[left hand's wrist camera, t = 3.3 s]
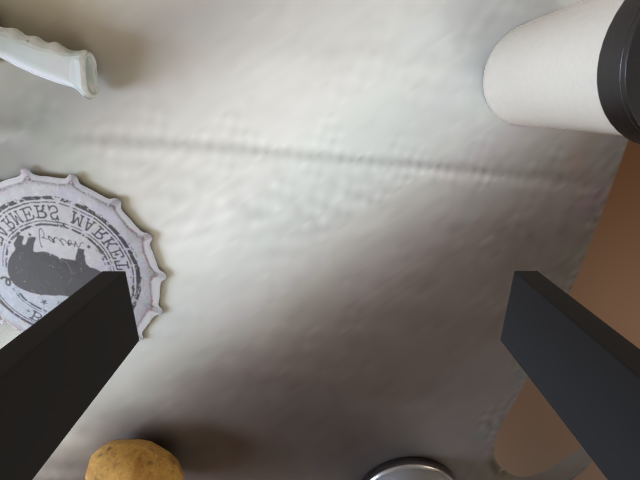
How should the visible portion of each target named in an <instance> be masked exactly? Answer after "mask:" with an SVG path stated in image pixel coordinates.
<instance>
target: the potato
mask: <svg viewBox="0 0 640 480" xmlns="http://www.w3.org/2000/svg"><path fill="white" fill-rule="evenodd" d="M85 478H86V480H184V473H183V470H182V468H181V466H180V464H179V461H178V459H176V458H175V457H174V456H173V455H172V454H171V453H170V452H169V451H167V450H165V449H164V448H162V447H160V446H159V445H157V444H155V443H153V442H152V441H147V440H142V439H130V440H127V439H118V440H114V441H111V442H108V443H106V444H105V445H103V446H102V447H101V448H100V449H99V450H97V451H96V452H95V453H94V454H93V455H92V456H91V459H90V461H89V465H88V468H87V472H86V476H85Z"/></svg>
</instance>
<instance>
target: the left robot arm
mask: <svg viewBox="0 0 640 480" xmlns="http://www.w3.org/2000/svg"><path fill="white" fill-rule="evenodd" d="M138 341H139V335H138V330H137V325H136V320H135V316H134V311H133V306H132V301H131V296H130V291H129V286H128V281H127V276H126V271H102V272H101V273H100V274H98V275H97V276H96V277H94V278H93V279H92V280H90V281H89V282H88V283H86V284H85V285H84V286H83V287H81V288H80V289H79V290H77V291H76V292H75V293H73V294H72V295H71V296H69V297H68V298H67V299H66V300H64V301H63V302H62V303H60V304H59V305H58V306H56V307H55V308H54V309H52V310H51V311H50V312H49V313H47V314H46V315H45V316H43V317H42V318H41V319H39V320H38V321H37V322H35V323H34V324H33V325H32V326H30V327H29V328H28V329H26V330H25V331H24V332H22V333H21V334H20V335H18V336H17V337H16V338H15V339H13V340H12V341H11V342H9V343H8V344H7V345H5V346H4V347H3V348H1V349H0V480H32V479H33V478H34V477H35V475H36V474H37V473H38V471H39V470H40V469H41V468H42V466H43V465H44V464H45V462H46V461H47V460H48V458H49V457H50V456H51V455H52V453H53V452H54V451H55V449H56V448H57V447H58V445H59V444H60V443H61V441H62V440H63V439H64V438H65V436H66V435H67V434H68V432H69V431H70V430H71V428H72V427H73V426H74V425H75V423H76V422H77V421H78V419H79V418H80V417H81V415H82V414H83V413H84V412H85V410H86V409H87V408H88V406H89V405H90V404H91V402H92V401H93V400H94V398H95V397H96V396H97V395H98V393H99V392H100V391H101V389H102V388H103V387H104V385H105V384H106V383H107V382H108V380H109V379H110V378H111V376H112V375H113V374H114V372H115V371H116V370H117V369H118V367H119V366H120V365H121V363H122V362H123V361H124V359H125V358H126V357H127V356H128V354H129V353H130V352H131V350H132V349H133V348H134V346H135V345H136V344H137V342H138ZM501 341H502V342H503V344H504V345H505V346H506V348H507V349H508V350H509V352H510V353H511V354H512V356H513V357H514V358H515V359H516V361H517V362H518V363H519V365H520V366H521V367H522V369H523V370H524V371H525V372H526V374H527V375H528V376H529V378H530V379H531V380H532V382H533V383H534V384H535V385H536V387H537V388H538V389H539V391H540V392H541V393H542V395H543V396H544V397H545V398H546V400H547V401H548V402H549V404H550V405H551V406H552V408H553V409H554V410H555V411H556V413H557V414H558V415H559V417H560V418H561V419H562V421H563V422H564V423H565V425H566V426H567V427H568V428H569V430H570V431H571V432H572V434H573V435H574V436H575V438H576V439H577V440H578V441H579V443H580V444H581V445H582V447H583V448H584V449H585V451H586V452H587V453H588V455H589V456H590V457H591V458H592V460H593V461H594V462H595V464H596V465H597V466H598V467H599V469H600V470H601V471H602V473H603V474H604V475H605V477H606V478H607V479H608V480H640V349H639V348H637V347H636V346H635V345H633V344H632V343H631V342H629V341H628V340H627V339H625V338H624V337H623V336H622V335H620V334H619V333H618V332H616V331H615V330H614V329H612V328H611V327H610V326H608V325H607V324H606V323H604V322H603V321H602V320H601V319H599V318H598V317H597V316H595V315H594V314H593V313H591V312H590V311H589V310H588V309H586V308H585V307H584V306H582V305H581V304H580V303H578V302H577V301H576V300H574V299H573V298H572V297H571V296H569V295H568V294H567V293H565V292H564V291H563V290H561V289H560V288H559V287H557V286H556V285H555V284H554V283H552V282H551V281H550V280H548V279H547V278H546V277H544V276H543V275H542V274H540V273H539V272H538V271H514V276H513V281H512V286H511V291H510V296H509V301H508V306H507V311H506V316H505V320H504V325H503V330H502V335H501ZM363 480H456V479H455V477H454V476H453V474H452V473H451V472H450V471H449V470H448V469H447V468H445V467H444V466H442V465H441V464H439V463H437V462H434V461H431V460H428V459H423V458H400V459H395V460H391V461H388V462H386V463H383V464H381V465H379V466H377V467H376V468H374V469H373V470H371V471H370V472H369V473H368V474H367V475H366V476H365V477H364V478H363Z"/></svg>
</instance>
